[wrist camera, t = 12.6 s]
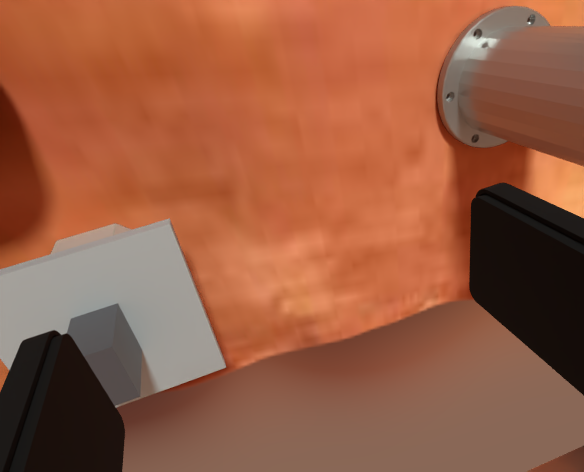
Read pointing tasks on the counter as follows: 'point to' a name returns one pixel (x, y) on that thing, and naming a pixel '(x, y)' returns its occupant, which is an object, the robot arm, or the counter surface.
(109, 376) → the lid
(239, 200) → the counter surface
